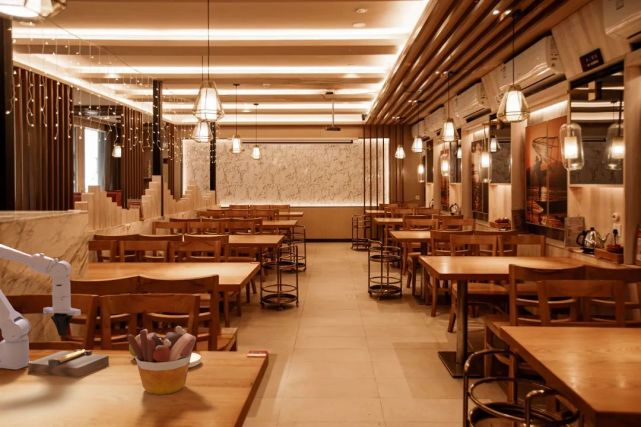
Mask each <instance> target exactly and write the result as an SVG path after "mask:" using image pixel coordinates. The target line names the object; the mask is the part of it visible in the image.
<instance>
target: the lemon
mask: <svg viewBox="0 0 641 427" xmlns="http://www.w3.org/2000/svg"><path fill="white" fill-rule="evenodd" d="M137 336H138V335H136V336H134V337H135V339H136V337H137ZM136 341H137V339H136ZM128 351H129V354H130V355H131V356H133V357H135V356H136V354H135V353H134V351H133V349H132V347H131V345H130V344H129V345H128Z"/></svg>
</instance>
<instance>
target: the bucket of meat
mask: <svg viewBox="0 0 641 427" xmlns="http://www.w3.org/2000/svg"><path fill="white" fill-rule="evenodd" d="M148 331H149V330H148V329H147V328H145V329H142V330H140V331H139V334H138V335H136V336H137V337H136V336H135V335H133V334H128V335H127V340H126V341H128V343H129V344H130V345H131V347H132V349H133V351H134V353H135V354H136V356H135V361H136V363H137V364H136V365H137V368H138V372H139V377H140V381H141V385H142V388H144V390H145V391H146V392H147V393H148V394H149V395H154V396H155V395H157V396H164V395H165V396H166V395H172V394H174V393H177V392H180V391H181V390H182V388H183V387H184V386H185V385H186V382H187V377H188V373H189V372H188V371H189V368H190V367H189V363H190V359H191V355H192V353H193V348H194V346H195V344H196V340H197V337H196V336H195V335H192V334H190V333H187V330H186V329H185V328H184V329H183V327H182V326H180V325H177V326H175V331H176V332H171V331H169V332H166V334H165V336H164V338H163V339H162V338H161V337H159V336H158V335H157V334H156V332H150V333H149V332H148ZM135 337H136V339H137V341H136V339H135Z"/></svg>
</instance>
